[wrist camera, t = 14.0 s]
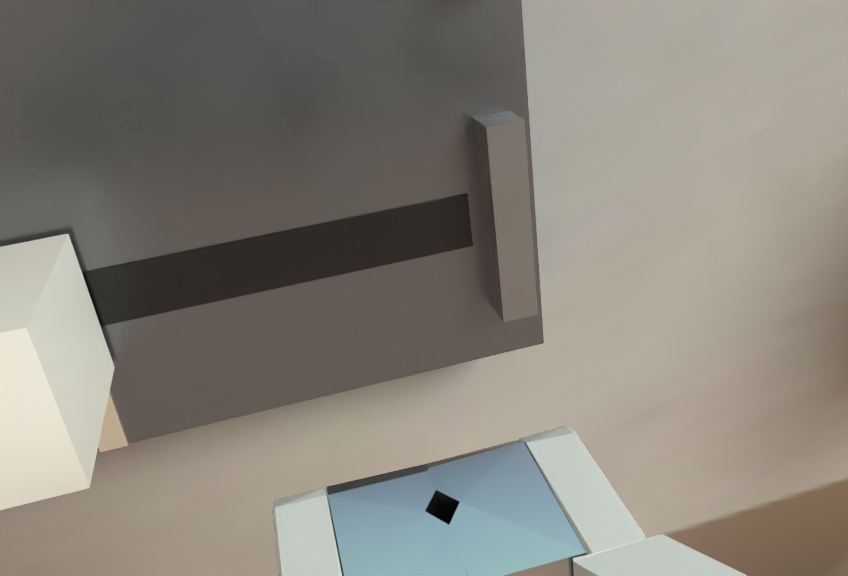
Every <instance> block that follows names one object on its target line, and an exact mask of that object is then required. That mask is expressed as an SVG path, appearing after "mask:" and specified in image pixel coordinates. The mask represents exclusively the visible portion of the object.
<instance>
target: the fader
mask: <svg viewBox="0 0 848 576" xmlns="http://www.w3.org/2000/svg"><path fill="white" fill-rule="evenodd" d="M114 368H115V367H114V364H113V361H112V358H111V355H110V352H109V350H108V347H107V344H106V341H105V338H104V335H103V332H102V329H101V326H100V324H99V321H98V318H97V315H96V312H95V309H94V306H93V303H92V300H91V298H90V295H89V292H88V289H87V286H86V283H85V280H84V277H83V274H82V272H81V269H80V266H79V263H78V260H77V257H76V254H75V251H74V248H73V246H72V243H71V240H70V237H69V234H63V235H58V236H53V237H48V238H43V239H38V240H33V241H28V242H22V243H17V244H12V245H7V246H2V247H0V510H3V509H7V508H11V507H15V506H19V505H23V504H27V503H31V502H35V501H39V500H44V499H48V498H52V497H56V496H60V495H64V494H68V493H72V492H76V491H80V490H84V489H88V488H90V484H91V479H92V474H93V469H94V464H95V460H96V455H97V450H98V445H99V440H100V435H101V431H102V426H103V421H104V416H105V411H106V406H107V402H108V397H109V392H110V387H111V382H112V377H113V373H114Z"/></svg>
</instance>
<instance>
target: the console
mask: <svg viewBox="0 0 848 576" xmlns="http://www.w3.org/2000/svg"><path fill="white" fill-rule="evenodd" d="M63 234H69V237H70V240H71V243H72V246H73V248H74V251H75V254H76V257H77V260H78V263H79V266H80V269H81V272H82V274H83V277H84V280H85V283H86V286H87V289H88V292H89V295H90V298H91V300H92V303H93V306H94V309H95V312H96V315H97V318H98V321H99V324H100V326H101V329H102V332H103V335H104V338H105V341H106V344H107V347H108V350H109V352H110V355H111V358H112V361H113V364H114V367H115V368H114V373H113V377H112V382H111V387H110V392H109V397H108V402H107V406H106V411H105V416H104V421H103V426H102V431H101V435H100V440H99V445H98V450H99V451H100V452H104V451H108V450H112V449H116V448H121V447H125V446H128V445H129V443H131V442H135V441H139V440H143V439H147V438H152V437H156V436H160V435H164V434H168V433H172V432H176V431H181V430H185V429H189V428H193V427H197V426H201V425H206V424H210V423H214V422H218V421H222V420H226V419H230V418H235V417H239V416H243V415H247V414H251V413H255V412H259V411H264V410H268V409H272V408H276V407H280V406H284V405H289V404H293V403H297V402H301V401H305V400H309V399H313V398H318V397H322V396H326V395H330V394H334V393H338V392H343V391H347V390H351V389H355V388H359V387H363V386H367V385H372V384H376V383H380V382H384V381H388V380H392V379H396V378H401V377H405V376H409V375H413V374H417V373H421V372H426V371H430V370H434V369H438V368H442V367H446V366H450V365H455V364H459V363H463V362H467V361H471V360H475V359H479V358H484V357H488V356H492V355H496V354H500V353H504V352H509V351H513V350H517V349H521V348H525V347H529V346H533V345H538V344H542V343H544V340H543V325H542V310H541V294H540V279H539V264H538V249H537V233H536V218H535V203H534V188H533V172H532V157H531V142H530V126H529V111H528V96H527V81H526V65H525V50H524V35H523V20H522V4H521V0H0V247H2V246H7V245H12V244H17V243H22V242H28V241H33V240H38V239H43V238H48V237H53V236H58V235H63ZM98 450H97V451H98Z"/></svg>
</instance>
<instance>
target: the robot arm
mask: <svg viewBox="0 0 848 576" xmlns="http://www.w3.org/2000/svg"><path fill="white" fill-rule="evenodd" d="M327 492H328V495H327ZM327 492H326V489H320V490H315V491H311V492H307V493H302V494H298V495H294V496H289V497H285V498H281V499H276V500H274V505H273V511H272V514H273V524H274V534H275V544H276V554H277V564H278V575H279V576H747V575H745V574H743V573H741V572H739V571H737V570H735V569H733V568H731V567H728V566H726V565H724V564H722V563H720V562H718V561H716V560H714V559H712V558H710V557H708V556H706V555H704V554H702V553H699V552H697V551H696V550H693V549H691V548H689V547H687V546H685V545H683V544H681V543H679V542H677V541H675V540H673V539H671V538H669V537H667V536H665V535H663V534H661V535H657V536H653V537H649V538H646V536H645V535H644V533H643V532H642V530H641V529H640V527H639V526H638V524H637V523H636V521H635V520H634V518H633V517H632V515H631V514H630V512H629V511H628V510H627V508H626V507H625V505H624V504H623V502H622V501H621V499H620V498H619V496H618V495H617V493H616V492H615V490H614V489H613V487H612V486H611V484H610V483H609V482H608V480H607V479H606V477H605V476H604V474H603V473H602V471H601V470H600V468H599V467H598V465H597V464H596V462H595V461H594V459H593V458H592V456H591V455H590V453H589V452H588V451H587V449H586V448H585V446H584V445H583V443H582V442H581V440H580V439H579V437H578V436H577V434H576V433H575V431H574V430H572V429H570V428H569V427H567V426H563V427H560V428H556V429H552V430H549V431H545V432H541V433H538V434H534V435H531V436H527V437H523V438H520V439H519V441H512V442H508V443H504V444H501V445H497V446H493V447H489V448H485V449H481V450H478V451H474V452H470V453H466V454H462V455H459V456H455V457H451V458H447V459H443V460H439V461H436V462H432V463H428V464H424V465H420V466H415V467H411V468H407V469H402V470H398V471H394V472H389V473H385V474H381V475H376V476H372V477H368V478H363V479H359V480H354V481H350V482H346V483H341V484H337V485H333V486H328V487H327ZM328 497H329V499H328ZM329 503H330V504H329Z"/></svg>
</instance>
